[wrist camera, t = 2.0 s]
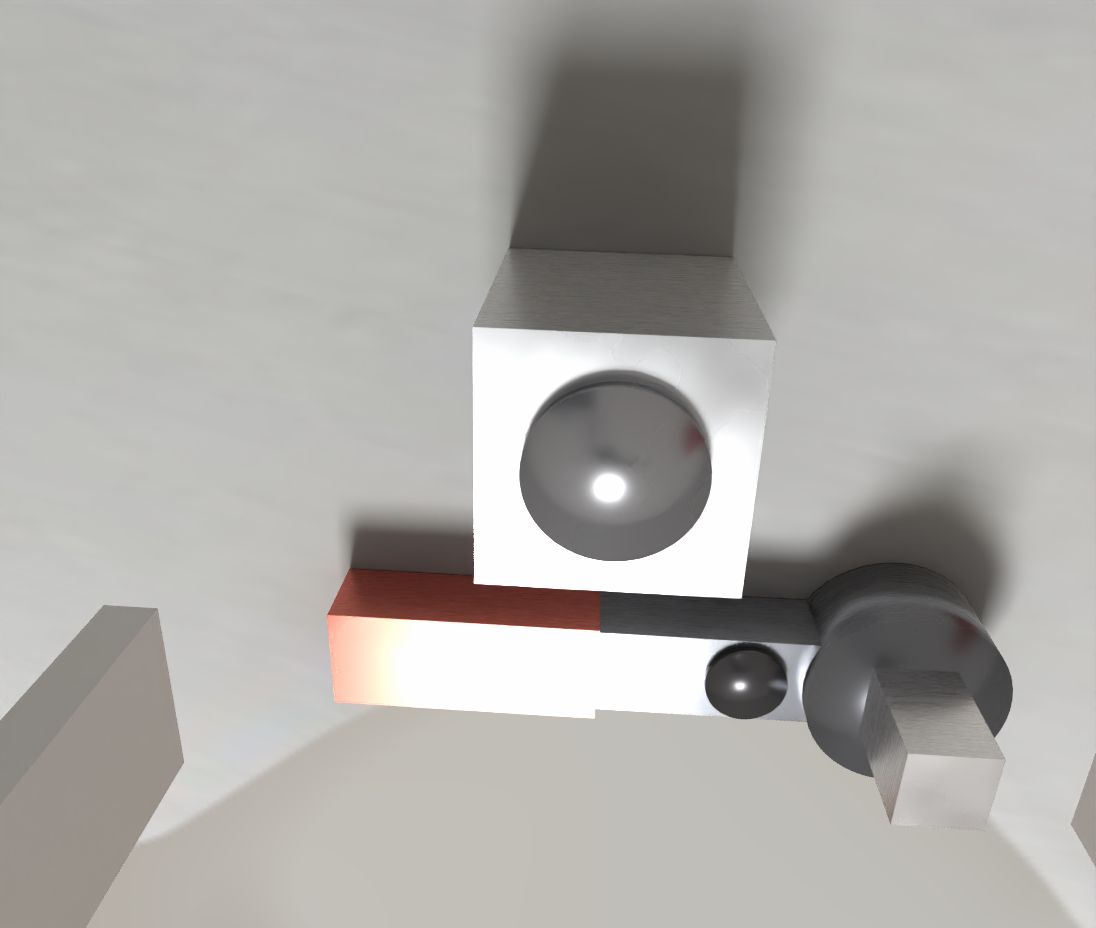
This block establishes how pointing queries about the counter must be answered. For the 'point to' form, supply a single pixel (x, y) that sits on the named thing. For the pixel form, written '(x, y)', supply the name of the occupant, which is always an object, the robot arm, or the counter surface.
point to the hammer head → (618, 422)
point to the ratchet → (707, 667)
